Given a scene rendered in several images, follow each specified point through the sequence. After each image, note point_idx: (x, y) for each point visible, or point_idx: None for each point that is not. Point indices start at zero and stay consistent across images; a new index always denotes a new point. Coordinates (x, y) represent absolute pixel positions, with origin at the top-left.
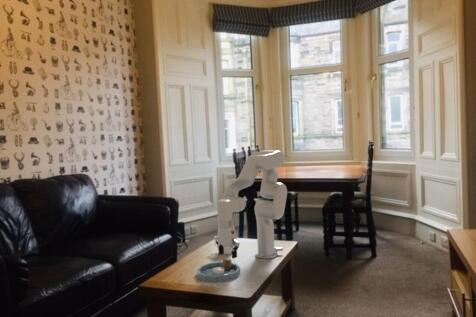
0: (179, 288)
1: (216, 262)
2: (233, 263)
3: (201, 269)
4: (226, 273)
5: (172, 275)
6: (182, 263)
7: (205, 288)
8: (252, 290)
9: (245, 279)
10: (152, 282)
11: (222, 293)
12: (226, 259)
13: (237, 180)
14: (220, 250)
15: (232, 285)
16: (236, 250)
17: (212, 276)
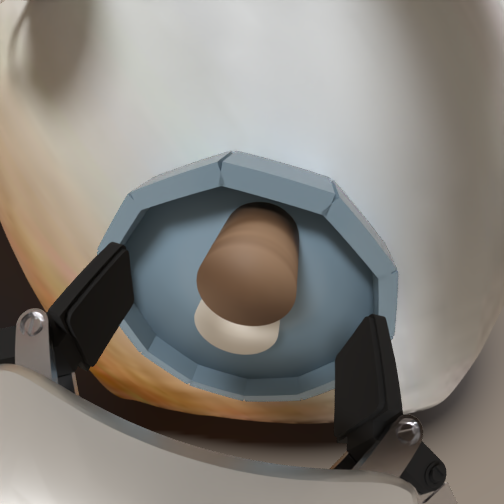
0: (203, 411)
1: (123, 220)
2: (283, 183)
3: (134, 319)
4: (300, 307)
5: None
6: (9, 224)
7: (284, 408)
8: (460, 375)
9: (434, 315)
10: (106, 381)
11: None
12: (231, 282)
13: None
14: (107, 329)
15: None
16: (401, 416)
17: (275, 400)
